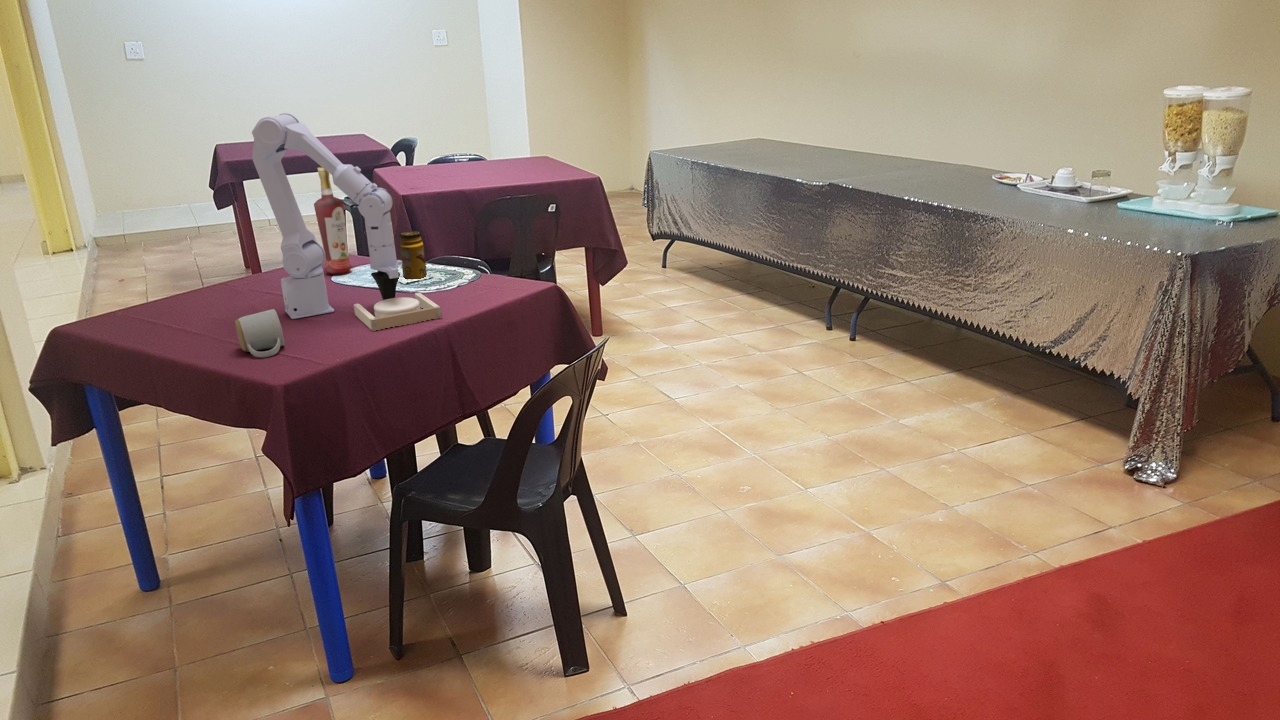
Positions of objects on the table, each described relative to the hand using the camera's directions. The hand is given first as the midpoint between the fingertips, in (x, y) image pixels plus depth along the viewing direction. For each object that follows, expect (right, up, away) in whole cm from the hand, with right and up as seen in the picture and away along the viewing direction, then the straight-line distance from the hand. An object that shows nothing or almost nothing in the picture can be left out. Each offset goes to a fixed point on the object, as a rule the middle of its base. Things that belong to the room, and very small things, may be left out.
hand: (389, 302), depth 206 cm
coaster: (+3, -4, -4) cm, 6 cm away
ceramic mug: (-19, -11, -22) cm, 32 cm away
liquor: (-23, +10, +35) cm, 44 cm away
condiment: (-1, +7, +27) cm, 28 cm away
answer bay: (+3, -3, -4) cm, 6 cm away
